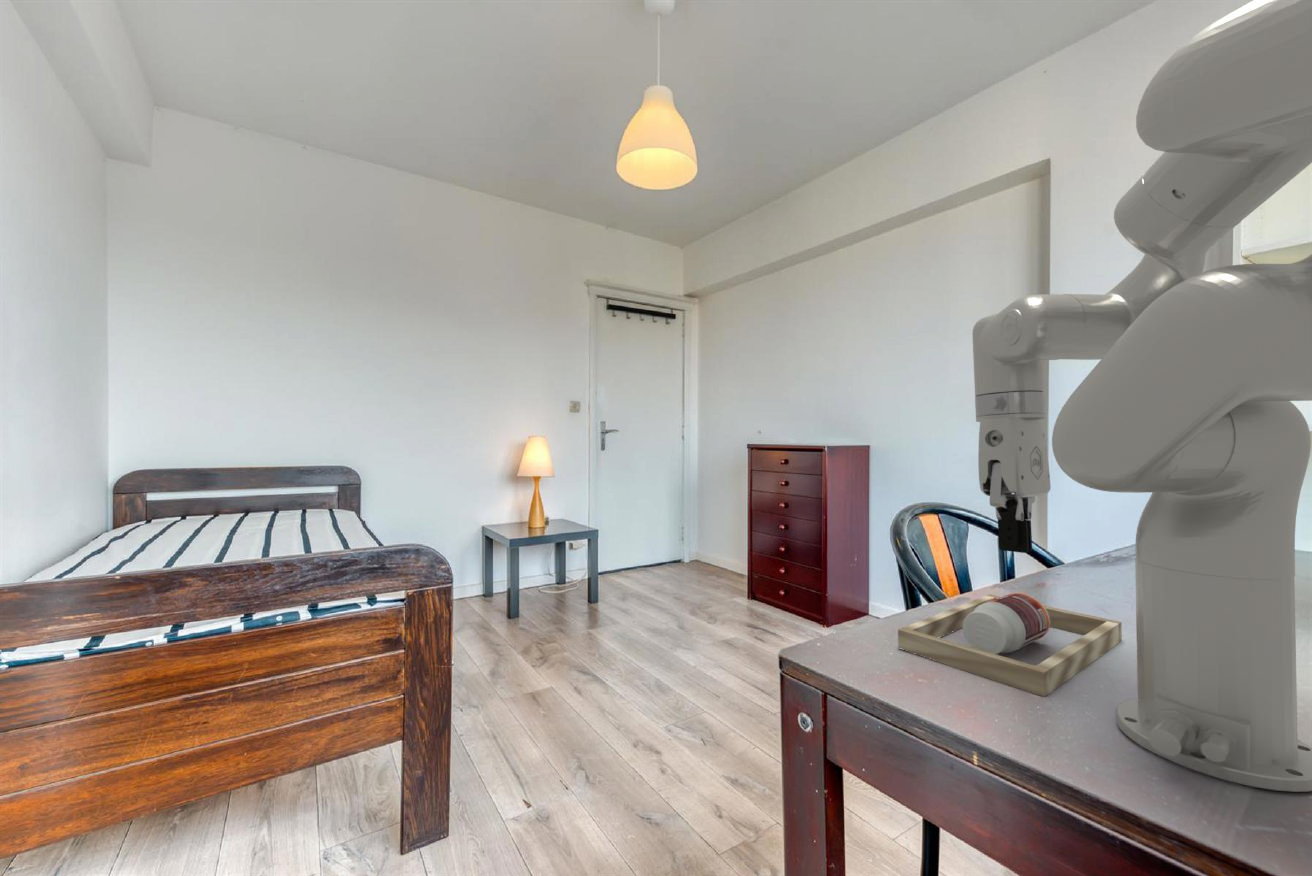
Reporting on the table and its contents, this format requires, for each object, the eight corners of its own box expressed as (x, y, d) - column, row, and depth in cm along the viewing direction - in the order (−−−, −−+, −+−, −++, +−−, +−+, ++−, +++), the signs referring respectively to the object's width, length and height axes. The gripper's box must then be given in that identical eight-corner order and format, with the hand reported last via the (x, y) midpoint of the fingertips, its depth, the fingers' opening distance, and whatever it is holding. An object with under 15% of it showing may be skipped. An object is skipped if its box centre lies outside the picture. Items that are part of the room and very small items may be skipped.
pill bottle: (1012, 582, 73) (970, 596, 66) (1061, 612, 68) (1020, 630, 62) (992, 618, 75) (949, 634, 69) (1038, 649, 70) (996, 670, 64)
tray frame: (1044, 696, 55) (1044, 672, 55) (898, 648, 68) (898, 629, 68) (1121, 640, 70) (1121, 621, 70) (989, 610, 83) (989, 594, 83)
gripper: (1017, 403, 62) (1024, 562, 61) (1065, 409, 70) (1071, 548, 70) (951, 409, 68) (956, 553, 67) (1002, 414, 77) (1008, 542, 76)
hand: (1015, 550), depth 68 cm, fingers closed
